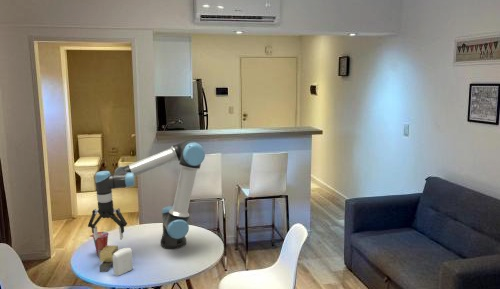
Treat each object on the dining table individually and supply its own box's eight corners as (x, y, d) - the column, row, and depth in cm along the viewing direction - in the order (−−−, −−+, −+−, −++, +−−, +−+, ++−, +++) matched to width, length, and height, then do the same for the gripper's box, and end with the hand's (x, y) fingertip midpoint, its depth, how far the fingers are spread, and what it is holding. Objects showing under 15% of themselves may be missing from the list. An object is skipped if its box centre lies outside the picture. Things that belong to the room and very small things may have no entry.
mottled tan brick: (118, 260, 224) (117, 245, 223) (112, 267, 215) (111, 252, 214) (107, 260, 224) (105, 245, 223) (100, 267, 215) (99, 252, 214)
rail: (112, 256, 229) (111, 251, 228) (119, 256, 229) (118, 251, 228) (99, 272, 211) (99, 266, 210) (107, 272, 211) (106, 266, 210)
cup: (105, 249, 237) (104, 230, 235) (112, 254, 231) (111, 234, 229) (89, 254, 231) (88, 234, 228) (96, 259, 225) (94, 239, 223)
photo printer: (117, 276, 206) (115, 254, 204) (112, 274, 209) (110, 251, 206) (134, 269, 214) (133, 247, 211) (129, 266, 216) (128, 245, 214)
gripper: (130, 197, 217) (134, 235, 221) (84, 198, 217) (88, 236, 221) (126, 202, 209) (129, 241, 213) (78, 203, 210) (82, 242, 214)
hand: (108, 238), depth 217 cm, fingers open, 13 cm apart
